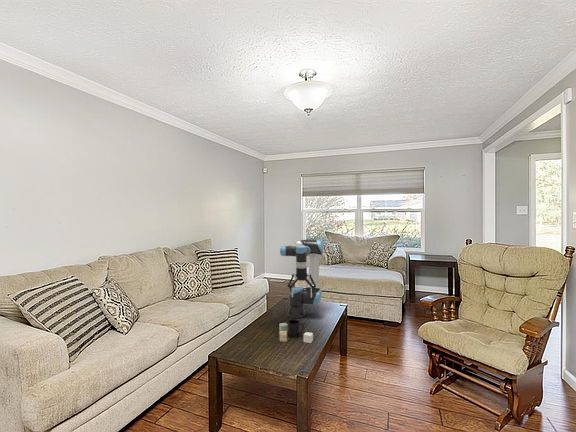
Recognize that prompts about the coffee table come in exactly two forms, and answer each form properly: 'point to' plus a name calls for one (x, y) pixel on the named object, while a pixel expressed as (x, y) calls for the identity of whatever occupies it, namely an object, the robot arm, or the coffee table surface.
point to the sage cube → (283, 327)
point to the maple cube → (283, 336)
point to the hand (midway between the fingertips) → (301, 296)
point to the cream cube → (308, 337)
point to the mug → (294, 327)
